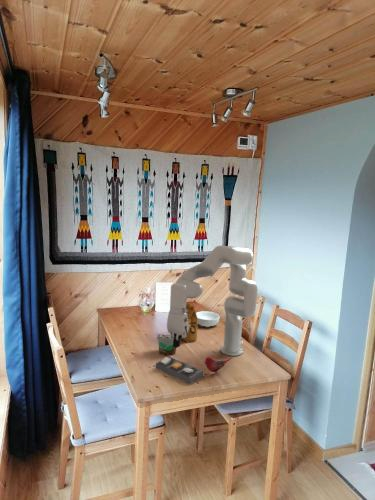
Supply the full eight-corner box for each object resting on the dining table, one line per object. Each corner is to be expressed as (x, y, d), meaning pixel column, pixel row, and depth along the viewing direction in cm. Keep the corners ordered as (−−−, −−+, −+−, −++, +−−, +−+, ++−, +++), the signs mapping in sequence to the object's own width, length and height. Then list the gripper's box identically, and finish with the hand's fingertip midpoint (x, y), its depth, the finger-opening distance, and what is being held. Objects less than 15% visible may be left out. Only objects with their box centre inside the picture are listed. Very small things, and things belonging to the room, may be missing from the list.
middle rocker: (176, 363, 182) (177, 362, 182) (181, 366, 180) (182, 364, 180) (171, 366, 179) (171, 364, 179) (176, 368, 177) (176, 367, 177)
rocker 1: (166, 358, 186) (166, 357, 186) (171, 360, 184) (170, 359, 184) (160, 362, 184) (160, 361, 183) (165, 365, 182) (165, 363, 181)
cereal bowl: (188, 325, 247) (189, 315, 246) (202, 319, 261) (202, 309, 260) (210, 331, 238) (211, 321, 237) (223, 325, 252) (224, 315, 251)
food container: (152, 353, 201) (153, 336, 200) (157, 349, 207) (158, 332, 205) (173, 358, 197) (174, 340, 195) (177, 354, 203) (178, 336, 201)
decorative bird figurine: (201, 376, 179) (202, 356, 177) (229, 368, 189) (230, 349, 188) (205, 379, 177) (206, 359, 175) (232, 370, 187) (234, 351, 185)
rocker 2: (187, 369, 178) (188, 367, 178) (193, 372, 176) (193, 370, 176) (182, 370, 175) (183, 368, 175) (188, 372, 173) (188, 370, 173)
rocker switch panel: (168, 362, 192) (169, 355, 192) (203, 376, 179) (203, 369, 178) (155, 368, 185) (155, 361, 184) (190, 384, 171) (190, 376, 171)
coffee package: (185, 344, 217) (187, 307, 213) (174, 336, 227) (176, 301, 223) (199, 341, 222) (201, 305, 219) (188, 334, 232) (189, 299, 229)
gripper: (195, 311, 173) (193, 349, 176) (171, 304, 182) (169, 340, 185) (185, 315, 167) (183, 354, 170) (160, 307, 176) (159, 344, 179)
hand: (176, 346), depth 177 cm, fingers closed
